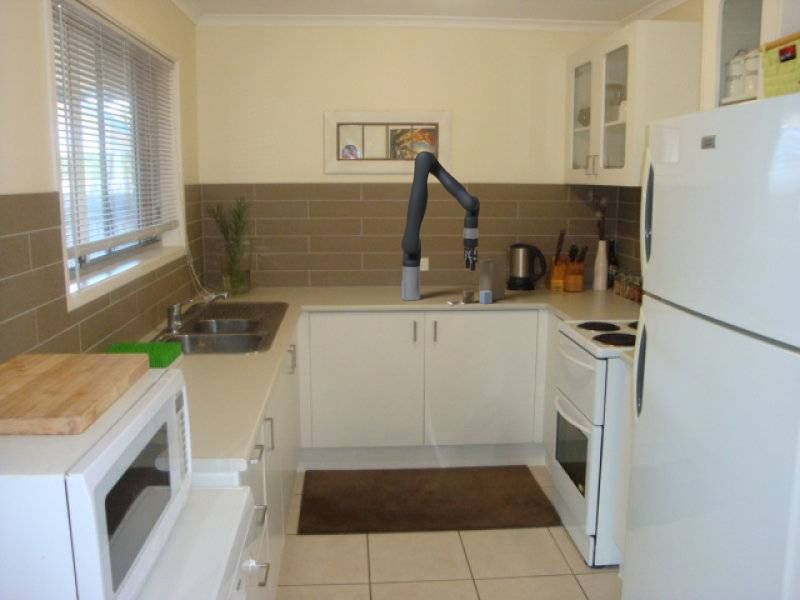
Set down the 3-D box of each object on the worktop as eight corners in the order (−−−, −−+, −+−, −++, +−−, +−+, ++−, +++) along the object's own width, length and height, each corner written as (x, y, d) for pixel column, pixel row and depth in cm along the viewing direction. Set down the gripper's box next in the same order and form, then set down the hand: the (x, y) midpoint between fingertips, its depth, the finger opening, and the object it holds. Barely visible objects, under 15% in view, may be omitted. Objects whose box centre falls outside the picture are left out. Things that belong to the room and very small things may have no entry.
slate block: (484, 304, 351) (484, 292, 350) (479, 302, 355) (479, 291, 354) (491, 303, 353) (492, 291, 352) (486, 302, 357) (487, 290, 356)
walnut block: (465, 303, 353) (465, 291, 352) (462, 302, 357) (463, 290, 356) (474, 303, 354) (474, 291, 352) (471, 301, 358) (471, 290, 357)
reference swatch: (450, 305, 349) (450, 303, 349) (447, 302, 356) (447, 301, 356) (464, 304, 350) (464, 303, 350) (460, 301, 357) (460, 300, 357)
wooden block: (505, 299, 364) (506, 260, 361) (490, 301, 359) (491, 262, 355) (493, 296, 373) (494, 258, 369) (478, 298, 368) (478, 259, 364)
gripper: (459, 235, 357) (458, 267, 360) (468, 238, 343) (467, 271, 346) (473, 235, 358) (472, 267, 361) (482, 238, 345) (482, 271, 348)
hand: (470, 269), depth 354 cm, fingers open, 8 cm apart
